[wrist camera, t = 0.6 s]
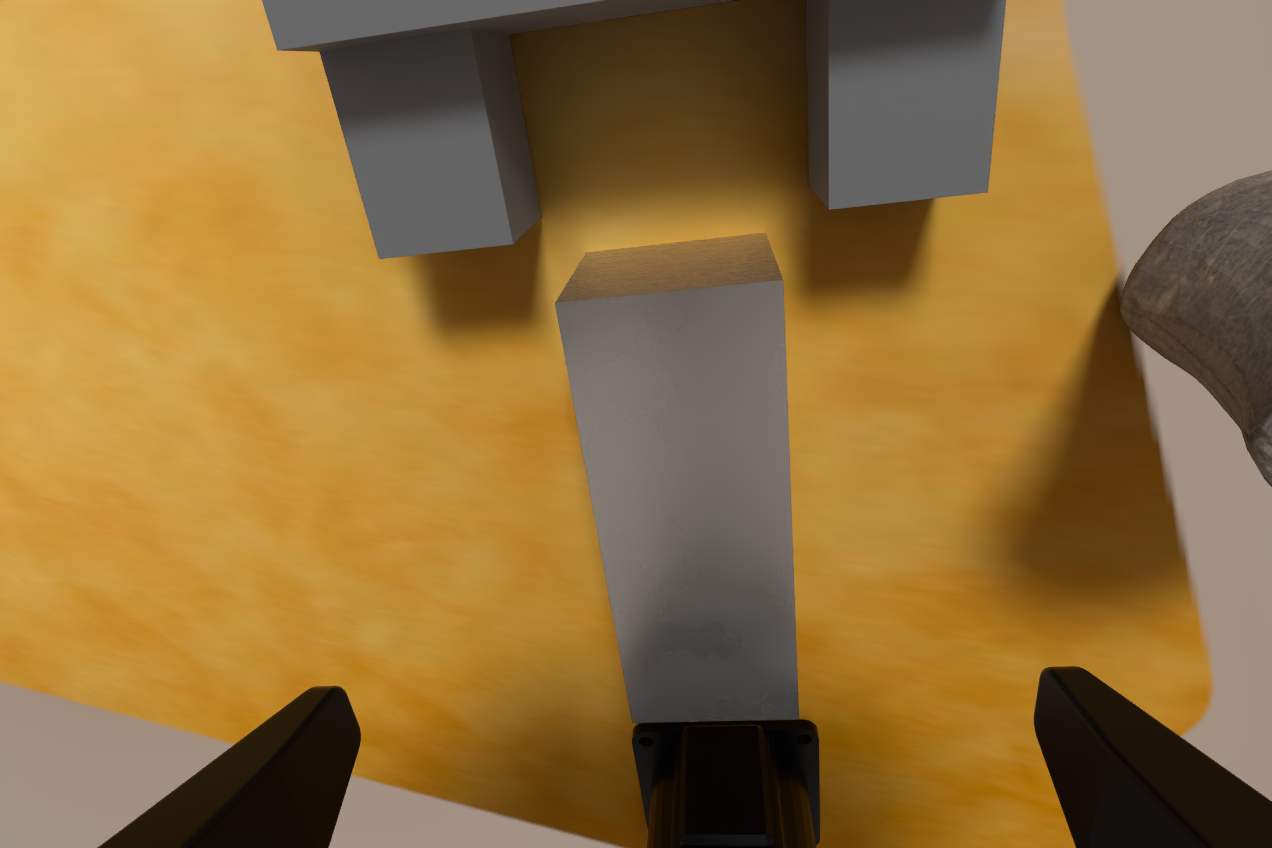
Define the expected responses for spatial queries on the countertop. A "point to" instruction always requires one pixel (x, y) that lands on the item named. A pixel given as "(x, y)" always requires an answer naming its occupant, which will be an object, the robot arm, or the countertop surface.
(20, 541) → the countertop surface
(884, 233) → the countertop surface
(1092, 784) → the robot arm
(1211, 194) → the grey tapered cup
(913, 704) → the countertop surface
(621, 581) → the long gray post
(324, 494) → the countertop surface
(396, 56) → the grey u-shaped block
